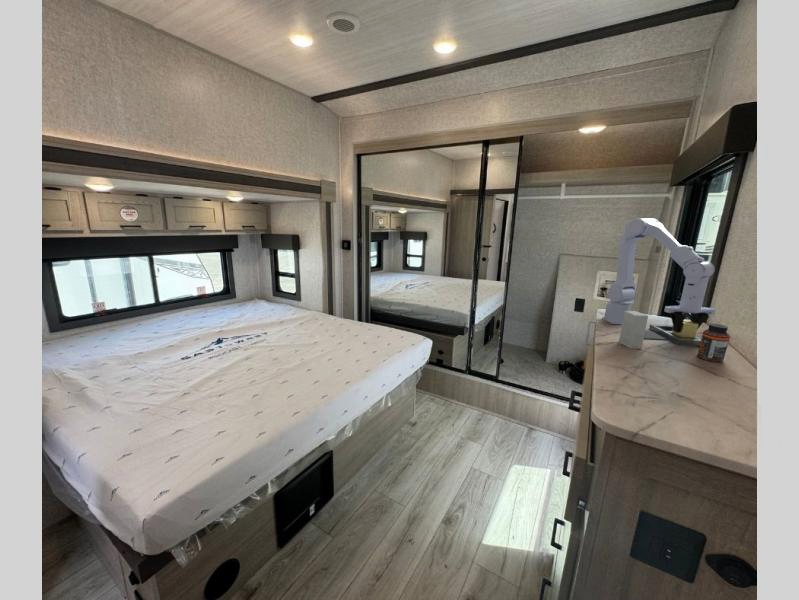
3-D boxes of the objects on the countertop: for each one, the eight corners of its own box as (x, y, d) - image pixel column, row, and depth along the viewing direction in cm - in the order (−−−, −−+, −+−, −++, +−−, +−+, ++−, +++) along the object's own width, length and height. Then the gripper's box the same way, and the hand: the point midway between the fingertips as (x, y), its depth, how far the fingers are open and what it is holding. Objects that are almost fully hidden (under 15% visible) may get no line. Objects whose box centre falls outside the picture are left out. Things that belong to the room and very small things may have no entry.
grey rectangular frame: (649, 329, 124) (650, 324, 124) (671, 330, 123) (672, 325, 122) (678, 345, 108) (679, 339, 107) (704, 346, 106) (705, 341, 106)
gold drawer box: (671, 335, 114) (675, 318, 112) (685, 336, 113) (689, 319, 111) (679, 340, 110) (684, 322, 108) (694, 341, 109) (698, 323, 107)
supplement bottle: (693, 353, 101) (701, 321, 98) (716, 356, 99) (725, 323, 96) (702, 361, 95) (711, 327, 93) (727, 364, 93) (737, 329, 90)
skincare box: (642, 348, 105) (649, 315, 102) (629, 348, 105) (636, 315, 102) (629, 342, 111) (635, 310, 108) (617, 342, 111) (623, 310, 108)
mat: (626, 330, 122) (626, 329, 122) (651, 331, 121) (651, 330, 121) (639, 338, 114) (639, 337, 114) (666, 340, 112) (666, 339, 112)
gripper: (677, 297, 105) (668, 334, 108) (726, 299, 102) (716, 337, 106) (663, 293, 111) (656, 328, 115) (709, 294, 109) (700, 330, 112)
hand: (684, 332), depth 111 cm, fingers closed on gold drawer box, 4 cm apart
